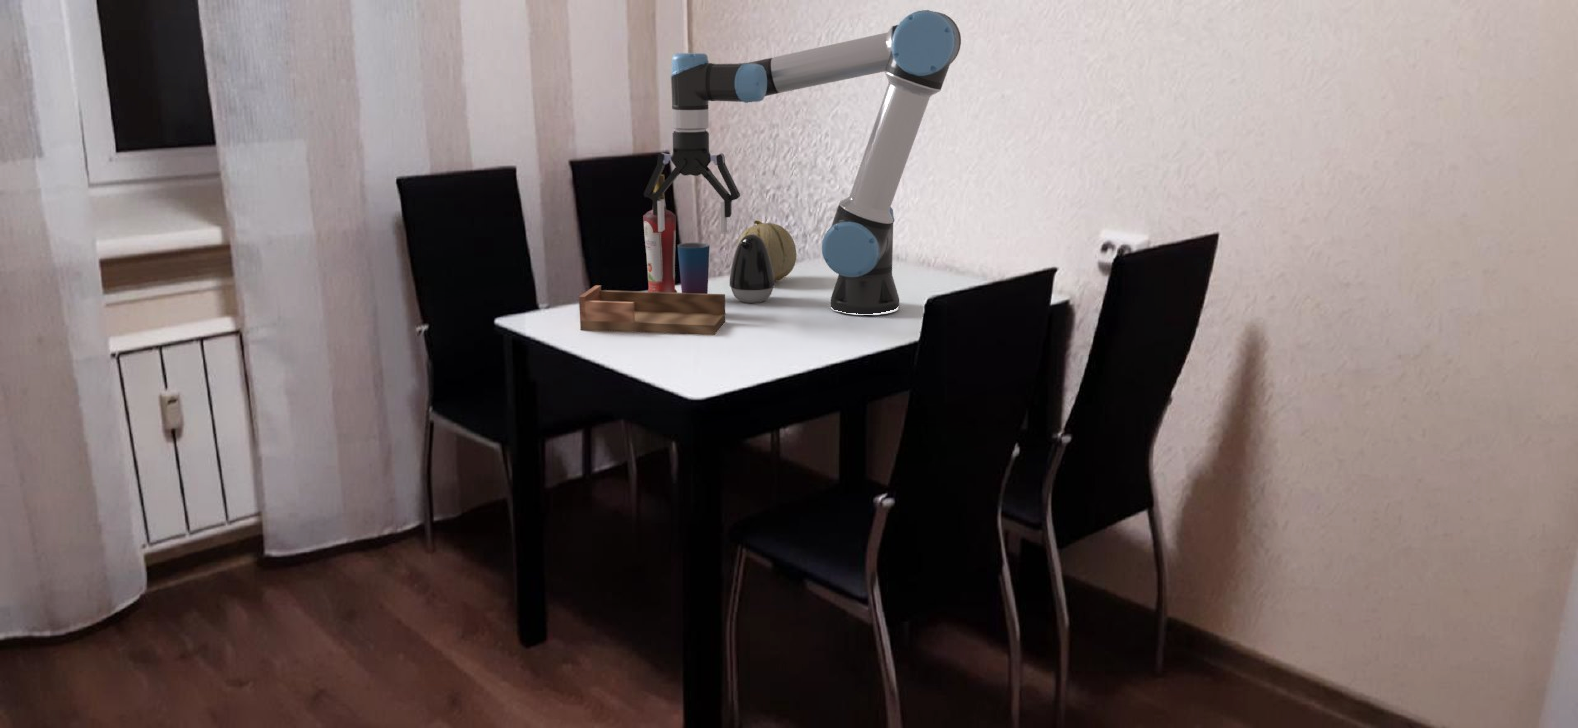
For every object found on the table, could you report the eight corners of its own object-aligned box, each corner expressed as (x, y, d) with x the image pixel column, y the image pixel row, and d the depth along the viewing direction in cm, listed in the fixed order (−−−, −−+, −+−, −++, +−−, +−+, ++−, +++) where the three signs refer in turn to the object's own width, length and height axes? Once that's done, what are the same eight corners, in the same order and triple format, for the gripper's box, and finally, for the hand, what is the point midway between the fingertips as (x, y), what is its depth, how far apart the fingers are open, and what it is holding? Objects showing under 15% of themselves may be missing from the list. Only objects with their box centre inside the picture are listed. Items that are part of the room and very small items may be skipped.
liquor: (639, 297, 266) (635, 174, 258) (666, 292, 270) (663, 172, 262) (657, 302, 260) (653, 178, 253) (684, 298, 265) (681, 175, 257)
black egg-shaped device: (721, 303, 260) (720, 236, 255) (741, 294, 269) (740, 229, 265) (763, 307, 256) (763, 239, 252) (781, 297, 265) (781, 232, 261)
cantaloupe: (787, 290, 272) (787, 227, 268) (728, 287, 276) (727, 224, 272) (803, 278, 286) (803, 218, 282) (747, 274, 290) (746, 215, 286)
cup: (706, 318, 247) (704, 248, 242) (675, 316, 248) (673, 247, 244) (714, 310, 253) (713, 243, 249) (684, 309, 254) (682, 241, 250)
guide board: (725, 322, 243) (724, 289, 241) (714, 335, 233) (713, 301, 231) (596, 317, 247) (595, 285, 245) (580, 330, 237) (578, 296, 235)
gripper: (753, 129, 241) (753, 230, 247) (637, 127, 245) (640, 227, 251) (746, 132, 234) (747, 236, 240) (627, 130, 238) (630, 232, 244)
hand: (692, 231), depth 245 cm, fingers open, 13 cm apart
